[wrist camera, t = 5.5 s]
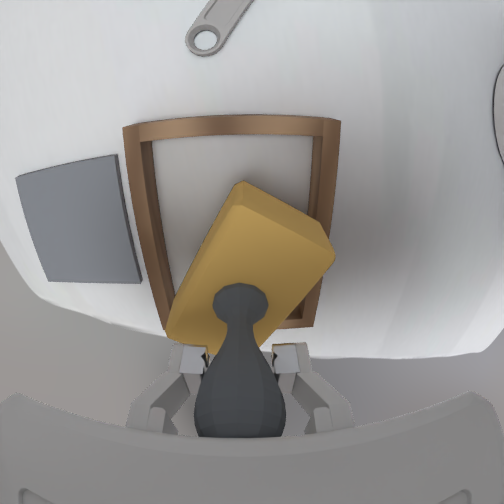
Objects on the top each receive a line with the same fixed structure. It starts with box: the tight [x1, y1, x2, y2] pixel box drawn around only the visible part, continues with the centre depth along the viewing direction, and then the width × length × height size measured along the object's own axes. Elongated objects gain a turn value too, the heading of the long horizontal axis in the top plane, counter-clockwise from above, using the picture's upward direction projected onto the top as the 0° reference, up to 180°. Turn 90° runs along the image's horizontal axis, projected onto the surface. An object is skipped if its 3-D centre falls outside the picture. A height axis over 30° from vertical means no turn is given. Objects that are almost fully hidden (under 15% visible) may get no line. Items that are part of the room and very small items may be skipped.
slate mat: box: [15, 154, 142, 284], centre depth 21 cm, size 12×12×1 cm
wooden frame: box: [122, 114, 341, 330], centre depth 21 cm, size 14×18×2 cm
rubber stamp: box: [165, 181, 335, 438], centre depth 12 cm, size 10×6×12 cm, turn 151°
